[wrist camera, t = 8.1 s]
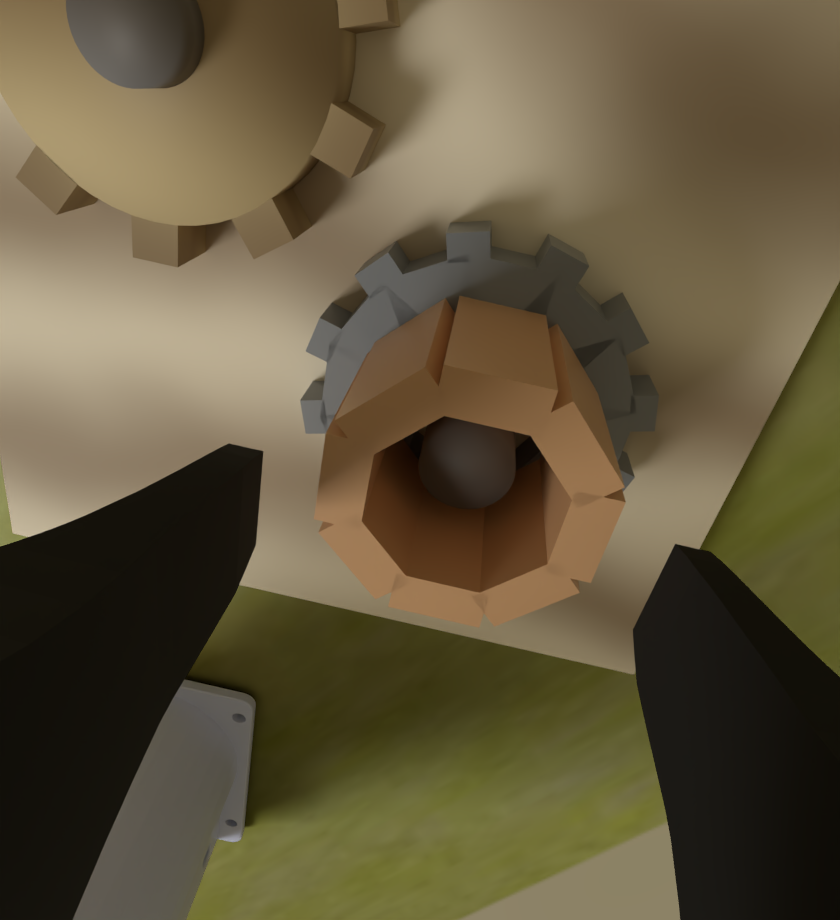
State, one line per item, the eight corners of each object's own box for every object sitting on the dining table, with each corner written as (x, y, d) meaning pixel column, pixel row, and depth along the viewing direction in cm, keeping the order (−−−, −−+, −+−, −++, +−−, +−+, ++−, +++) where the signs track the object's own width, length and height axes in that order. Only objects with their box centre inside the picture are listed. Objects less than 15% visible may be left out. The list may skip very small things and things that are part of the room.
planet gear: (583, 557, 19) (607, 707, 14) (299, 491, 19) (232, 621, 14) (703, 269, 14) (791, 353, 10) (336, 185, 14) (258, 230, 10)
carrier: (628, 650, 21) (654, 776, 18) (32, 515, 22) (-73, 610, 18) (1035, -158, 11) (1312, -283, 7) (-98, -408, 11) (-410, -661, 7)
